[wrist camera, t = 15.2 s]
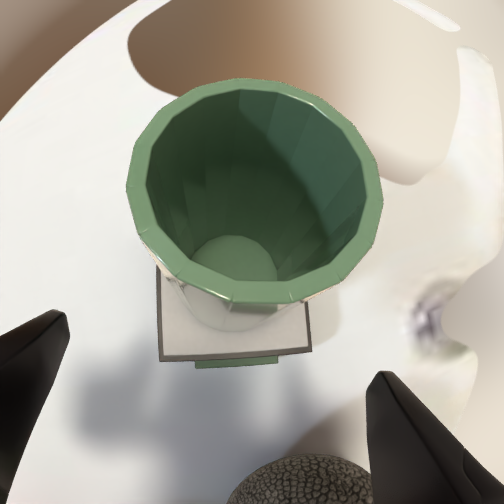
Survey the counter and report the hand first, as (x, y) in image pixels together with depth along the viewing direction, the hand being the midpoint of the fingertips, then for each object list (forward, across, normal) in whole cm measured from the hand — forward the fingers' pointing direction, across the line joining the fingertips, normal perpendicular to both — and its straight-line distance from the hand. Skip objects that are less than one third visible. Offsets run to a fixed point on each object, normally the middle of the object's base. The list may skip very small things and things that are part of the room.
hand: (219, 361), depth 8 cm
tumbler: (+11, 0, +4) cm, 12 cm away
